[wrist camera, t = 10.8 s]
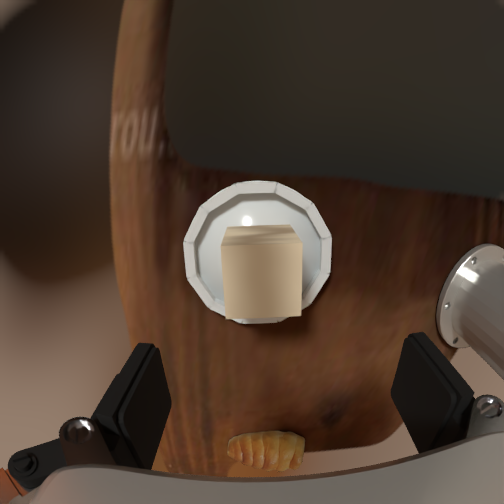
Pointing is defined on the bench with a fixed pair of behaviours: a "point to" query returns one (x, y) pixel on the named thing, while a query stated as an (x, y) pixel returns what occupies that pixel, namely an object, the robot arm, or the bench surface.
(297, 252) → the maple block
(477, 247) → the robot arm
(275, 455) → the pastry
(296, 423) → the bench surface
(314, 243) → the dish
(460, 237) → the bench surface
